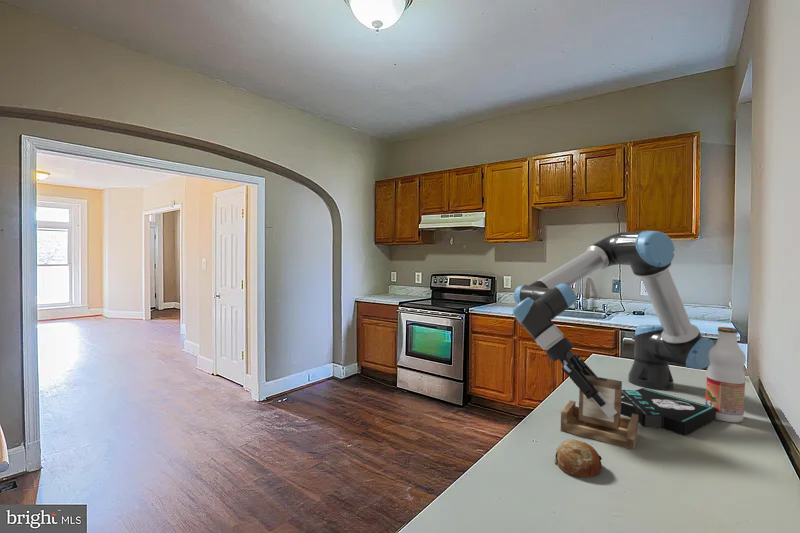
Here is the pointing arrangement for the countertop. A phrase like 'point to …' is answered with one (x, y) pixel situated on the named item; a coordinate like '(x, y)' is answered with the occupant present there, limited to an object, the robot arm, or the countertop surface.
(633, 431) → the wooden tray
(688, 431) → the wall plaque
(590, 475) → the bread roll
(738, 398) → the fruit juice
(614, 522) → the countertop surface
